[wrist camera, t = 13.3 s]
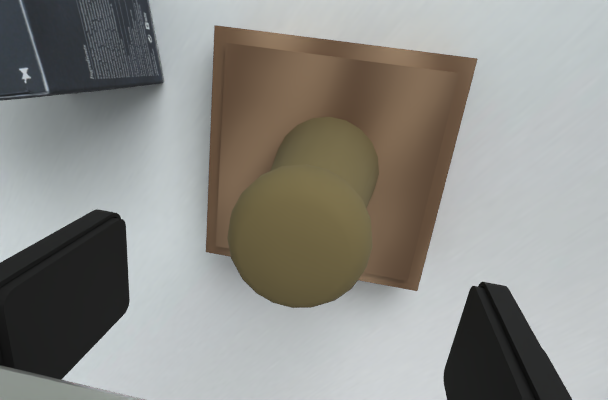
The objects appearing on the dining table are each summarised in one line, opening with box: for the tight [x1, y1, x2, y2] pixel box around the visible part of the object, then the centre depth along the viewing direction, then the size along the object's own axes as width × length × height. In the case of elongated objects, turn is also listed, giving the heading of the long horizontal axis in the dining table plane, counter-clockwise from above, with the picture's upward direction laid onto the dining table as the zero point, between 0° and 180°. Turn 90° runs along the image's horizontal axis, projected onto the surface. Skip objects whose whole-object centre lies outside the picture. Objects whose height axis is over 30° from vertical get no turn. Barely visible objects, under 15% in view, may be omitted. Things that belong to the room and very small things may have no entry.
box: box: [0, 0, 164, 100], centre depth 22 cm, size 8×6×11 cm
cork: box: [227, 117, 379, 308], centre depth 18 cm, size 6×6×11 cm
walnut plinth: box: [206, 26, 477, 291], centre depth 25 cm, size 14×14×4 cm
